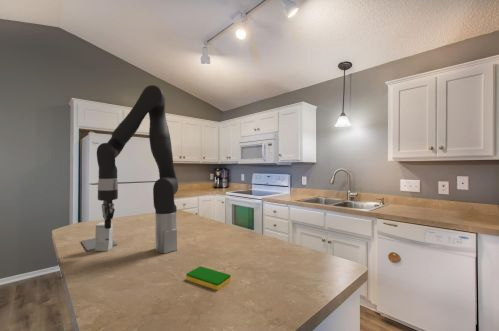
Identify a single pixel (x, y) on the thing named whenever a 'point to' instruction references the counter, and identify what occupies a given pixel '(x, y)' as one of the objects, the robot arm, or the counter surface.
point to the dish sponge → (208, 277)
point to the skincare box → (103, 237)
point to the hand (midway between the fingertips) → (107, 228)
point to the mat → (92, 244)
